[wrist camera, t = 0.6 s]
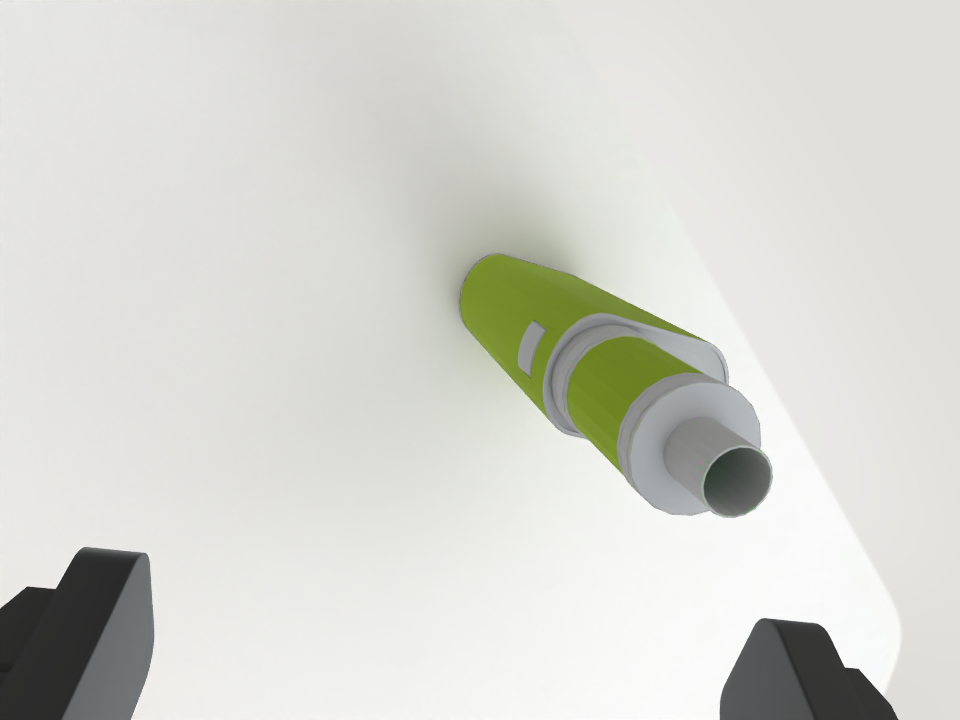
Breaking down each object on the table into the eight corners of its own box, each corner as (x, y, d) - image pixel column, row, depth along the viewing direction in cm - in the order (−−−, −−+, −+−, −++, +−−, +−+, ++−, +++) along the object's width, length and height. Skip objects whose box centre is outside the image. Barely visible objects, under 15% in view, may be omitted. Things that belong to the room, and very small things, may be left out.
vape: (471, 245, 34) (684, 374, 15) (596, 282, 36) (926, 439, 17) (446, 327, 35) (620, 546, 16) (570, 360, 37) (859, 593, 18)
